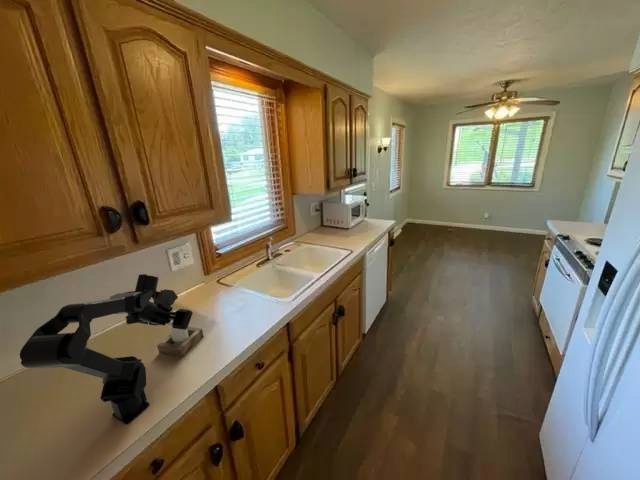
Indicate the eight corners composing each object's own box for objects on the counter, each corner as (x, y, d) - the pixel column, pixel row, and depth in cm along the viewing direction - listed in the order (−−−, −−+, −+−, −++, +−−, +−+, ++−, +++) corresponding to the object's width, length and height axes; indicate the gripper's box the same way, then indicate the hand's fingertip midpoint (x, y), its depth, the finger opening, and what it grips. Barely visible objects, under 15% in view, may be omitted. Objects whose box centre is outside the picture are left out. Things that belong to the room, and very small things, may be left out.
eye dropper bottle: (178, 346, 97) (172, 316, 93) (171, 340, 100) (164, 311, 96) (190, 339, 100) (184, 310, 96) (183, 334, 103) (177, 306, 100)
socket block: (182, 357, 94) (180, 349, 93) (159, 353, 97) (157, 345, 95) (203, 336, 105) (202, 328, 104) (182, 333, 107) (180, 325, 106)
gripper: (183, 289, 87) (210, 302, 100) (136, 284, 91) (167, 297, 105) (169, 325, 82) (199, 334, 95) (120, 318, 86) (155, 327, 100)
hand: (180, 321), depth 99 cm, fingers closed on eye dropper bottle, 5 cm apart
